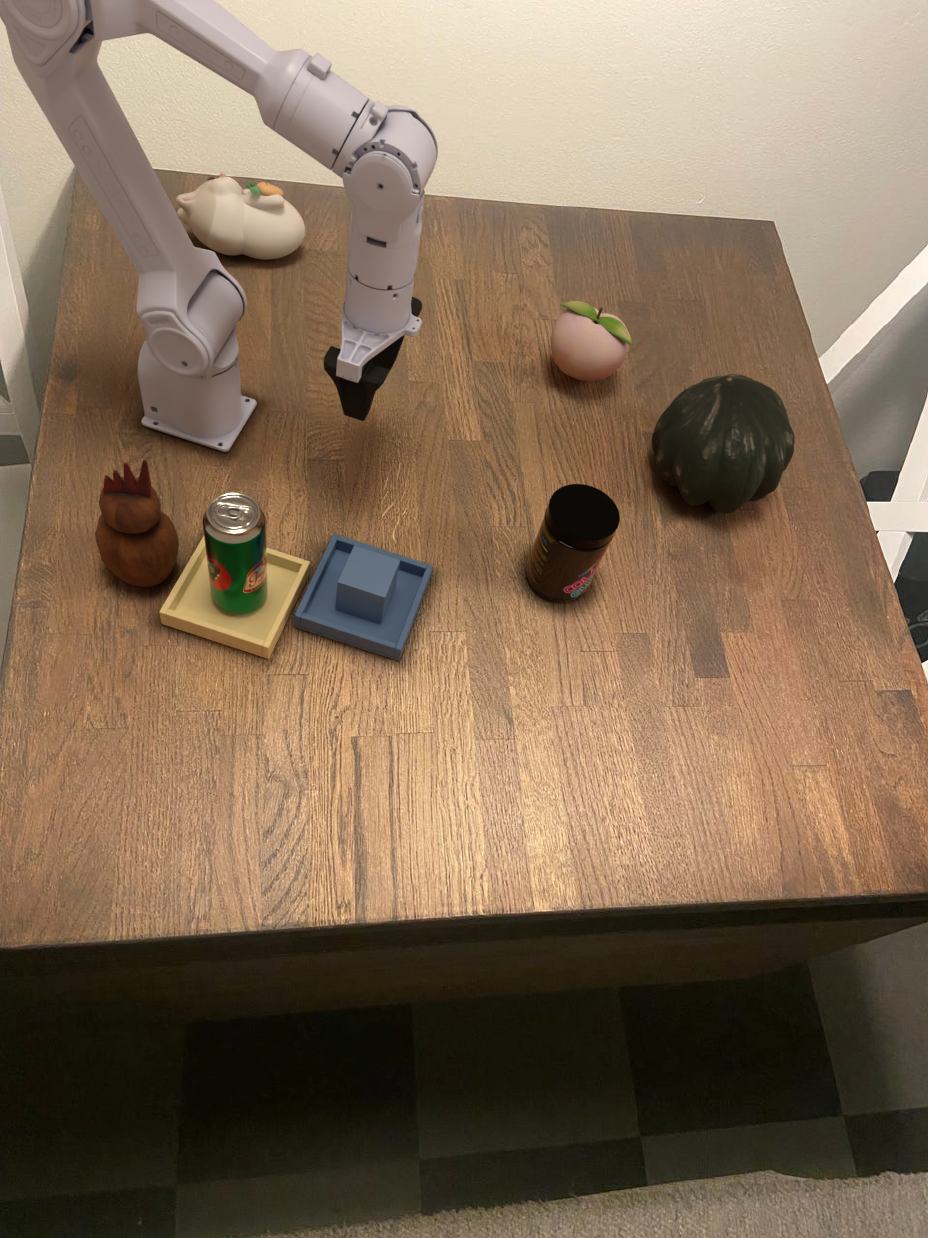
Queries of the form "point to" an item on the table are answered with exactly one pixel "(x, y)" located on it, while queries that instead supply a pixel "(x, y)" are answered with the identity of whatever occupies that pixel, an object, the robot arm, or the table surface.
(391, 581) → the blue block
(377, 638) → the blue tray
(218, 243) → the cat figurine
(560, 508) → the supplement container
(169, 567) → the wooden figurine
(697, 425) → the squash
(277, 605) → the cream tray
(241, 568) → the soda can
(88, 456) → the table surface
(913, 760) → the table surface
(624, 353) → the decorative fruit
